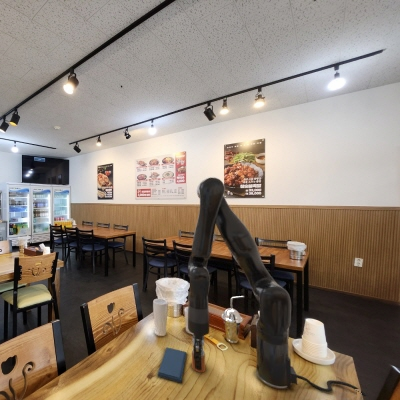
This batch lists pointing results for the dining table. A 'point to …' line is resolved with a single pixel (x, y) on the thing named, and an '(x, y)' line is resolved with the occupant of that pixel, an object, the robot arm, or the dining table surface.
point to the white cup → (187, 320)
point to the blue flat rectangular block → (172, 365)
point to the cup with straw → (232, 323)
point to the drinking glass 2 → (160, 316)
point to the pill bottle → (201, 362)
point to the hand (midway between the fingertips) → (198, 364)
